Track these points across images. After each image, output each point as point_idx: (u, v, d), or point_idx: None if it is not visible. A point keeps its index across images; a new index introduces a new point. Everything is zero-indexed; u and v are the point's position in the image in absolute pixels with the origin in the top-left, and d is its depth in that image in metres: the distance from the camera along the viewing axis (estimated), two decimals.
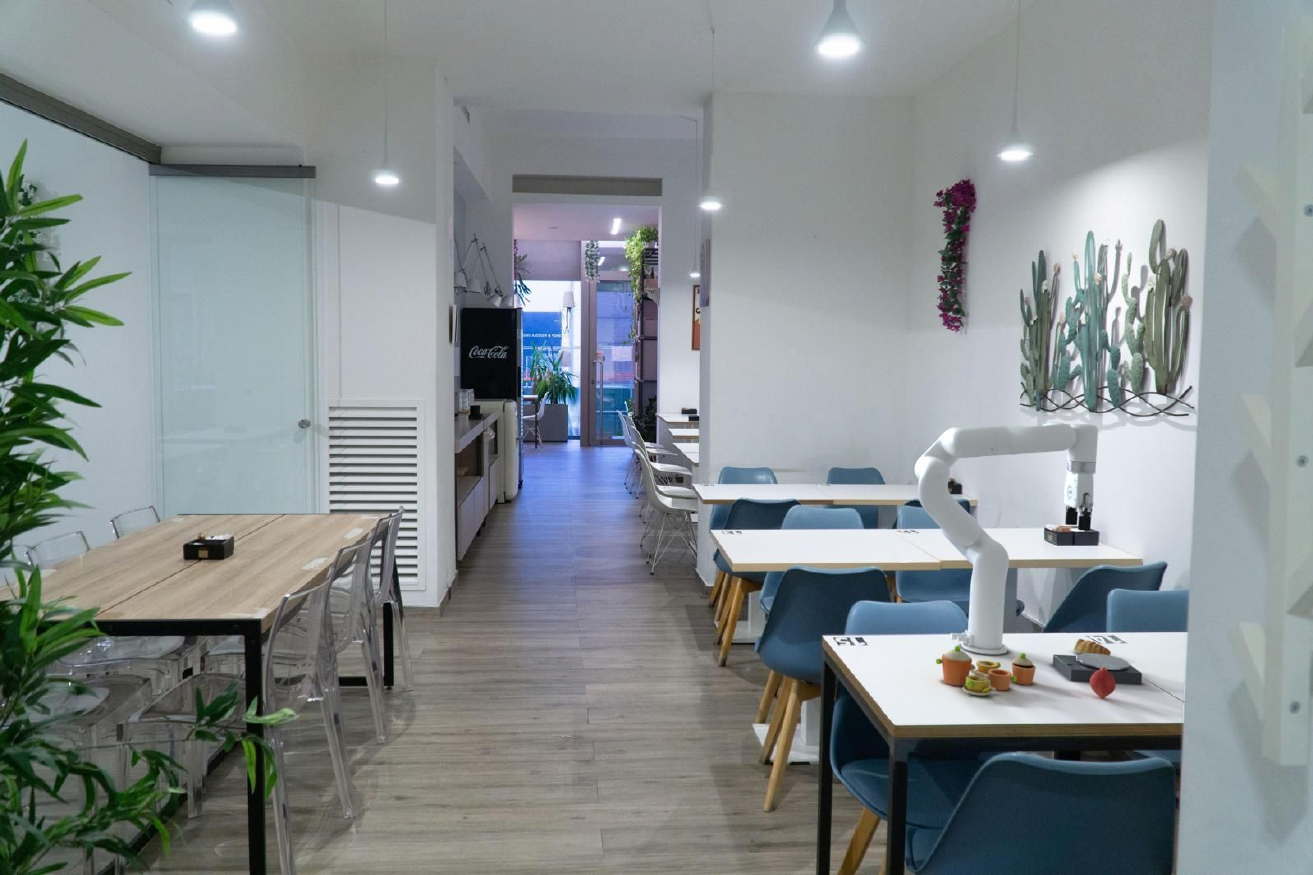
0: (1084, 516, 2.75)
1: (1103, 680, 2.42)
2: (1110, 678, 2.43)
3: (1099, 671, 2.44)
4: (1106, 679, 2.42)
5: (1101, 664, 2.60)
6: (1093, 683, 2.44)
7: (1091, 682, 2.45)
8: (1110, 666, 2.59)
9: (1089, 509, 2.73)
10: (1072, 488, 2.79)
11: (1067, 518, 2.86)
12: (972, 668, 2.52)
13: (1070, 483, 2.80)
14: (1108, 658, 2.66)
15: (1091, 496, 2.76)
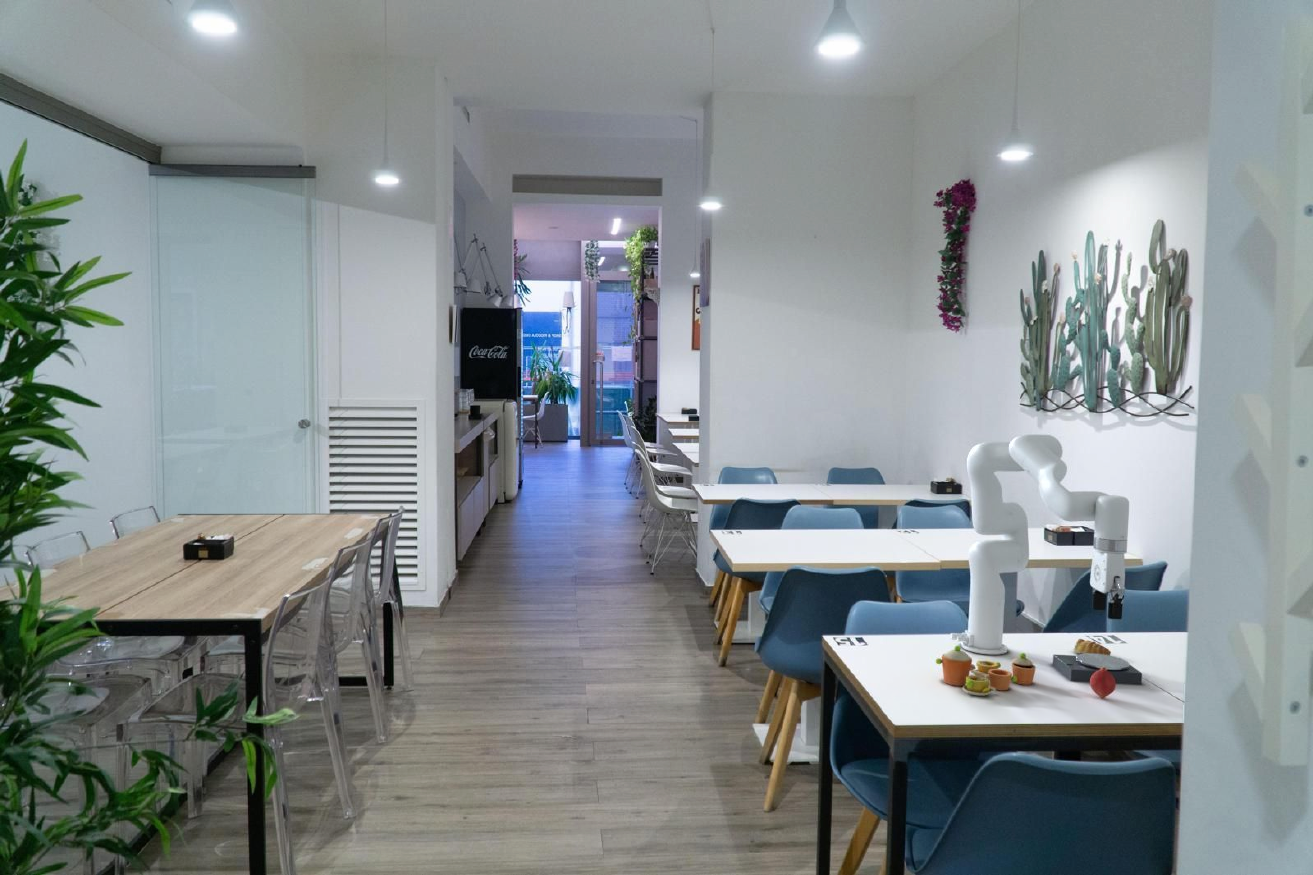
0: (1115, 603, 2.39)
1: (1103, 680, 2.42)
2: (1110, 678, 2.43)
3: (1099, 671, 2.44)
4: (1106, 679, 2.42)
5: (1101, 664, 2.60)
6: (1093, 683, 2.44)
7: (1091, 682, 2.45)
8: (1110, 666, 2.59)
9: (1120, 595, 2.37)
10: (1100, 570, 2.43)
11: (1094, 602, 2.50)
12: (972, 668, 2.52)
13: (1098, 563, 2.44)
14: (1108, 658, 2.66)
15: (1122, 580, 2.40)
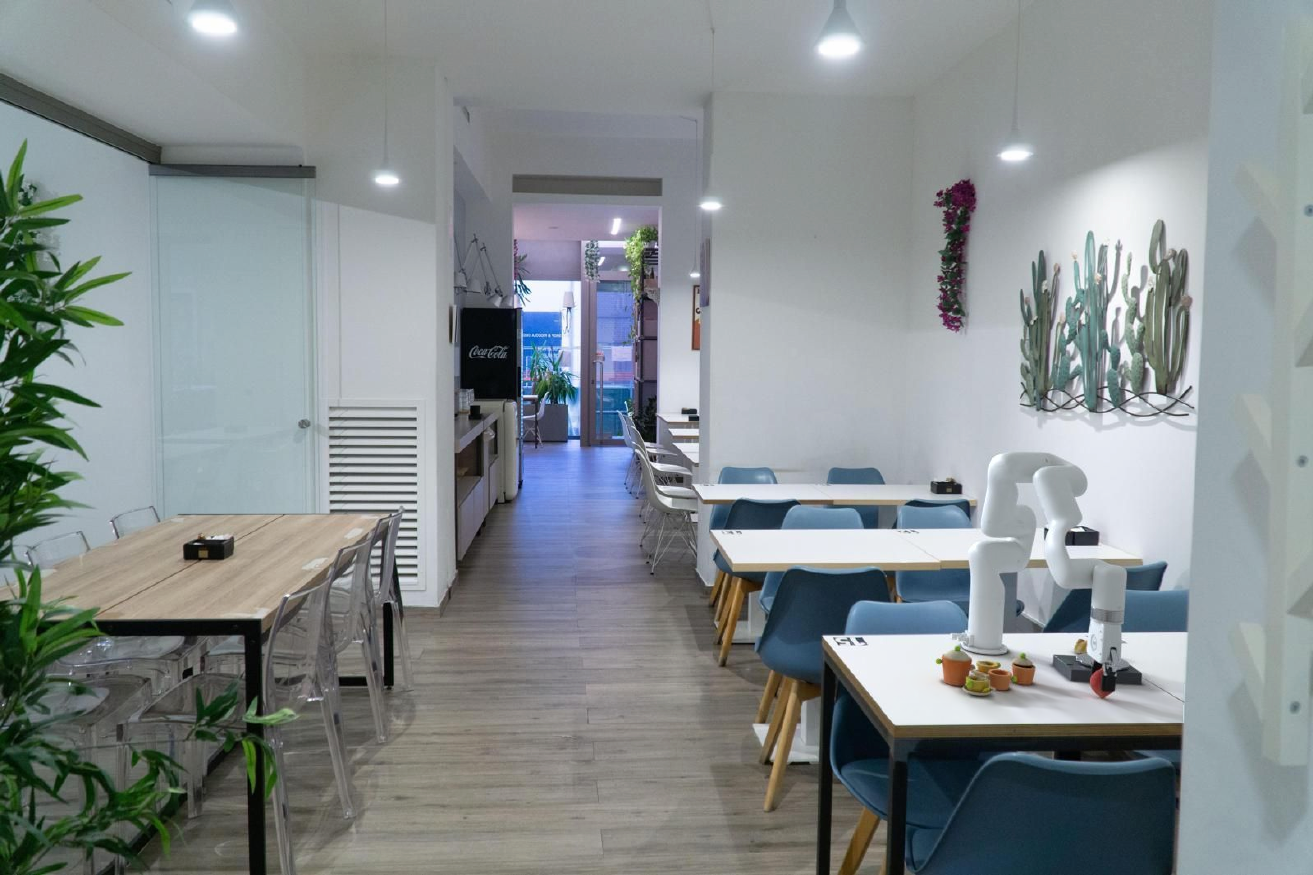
0: (1108, 676, 2.40)
1: None
2: None
3: (1099, 671, 2.44)
4: None
5: None
6: (1093, 683, 2.44)
7: (1091, 682, 2.45)
8: (1110, 666, 2.59)
9: None
10: (1097, 639, 2.42)
11: None
12: (972, 668, 2.52)
13: (1094, 633, 2.44)
14: None
15: (1119, 651, 2.39)
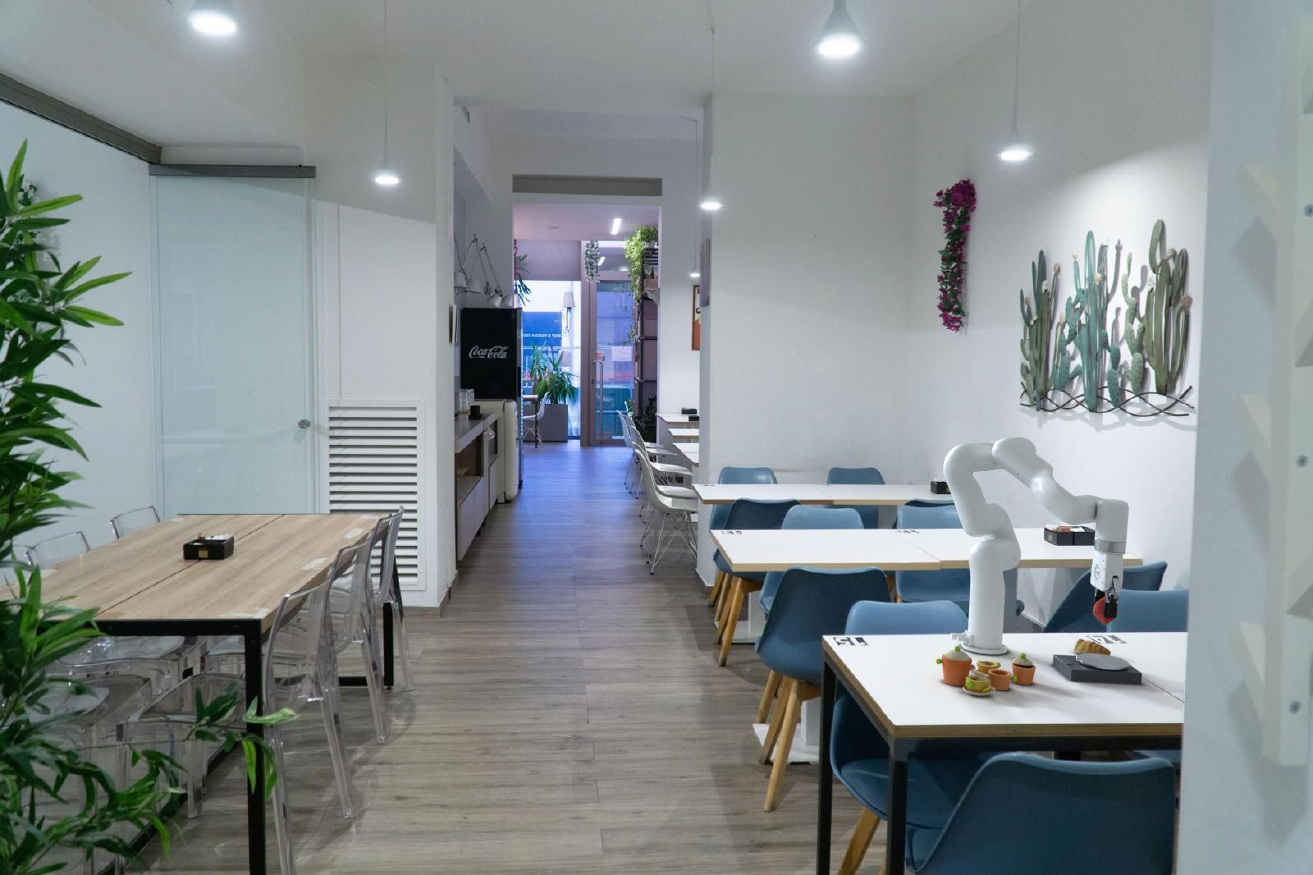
0: (1110, 603, 2.56)
1: None
2: None
3: (1102, 599, 2.60)
4: None
5: (1101, 664, 2.60)
6: (1096, 610, 2.60)
7: (1094, 610, 2.60)
8: (1110, 666, 2.59)
9: (1115, 596, 2.54)
10: (1100, 569, 2.58)
11: None
12: (972, 668, 2.52)
13: (1098, 563, 2.59)
14: (1108, 658, 2.66)
15: (1120, 579, 2.55)
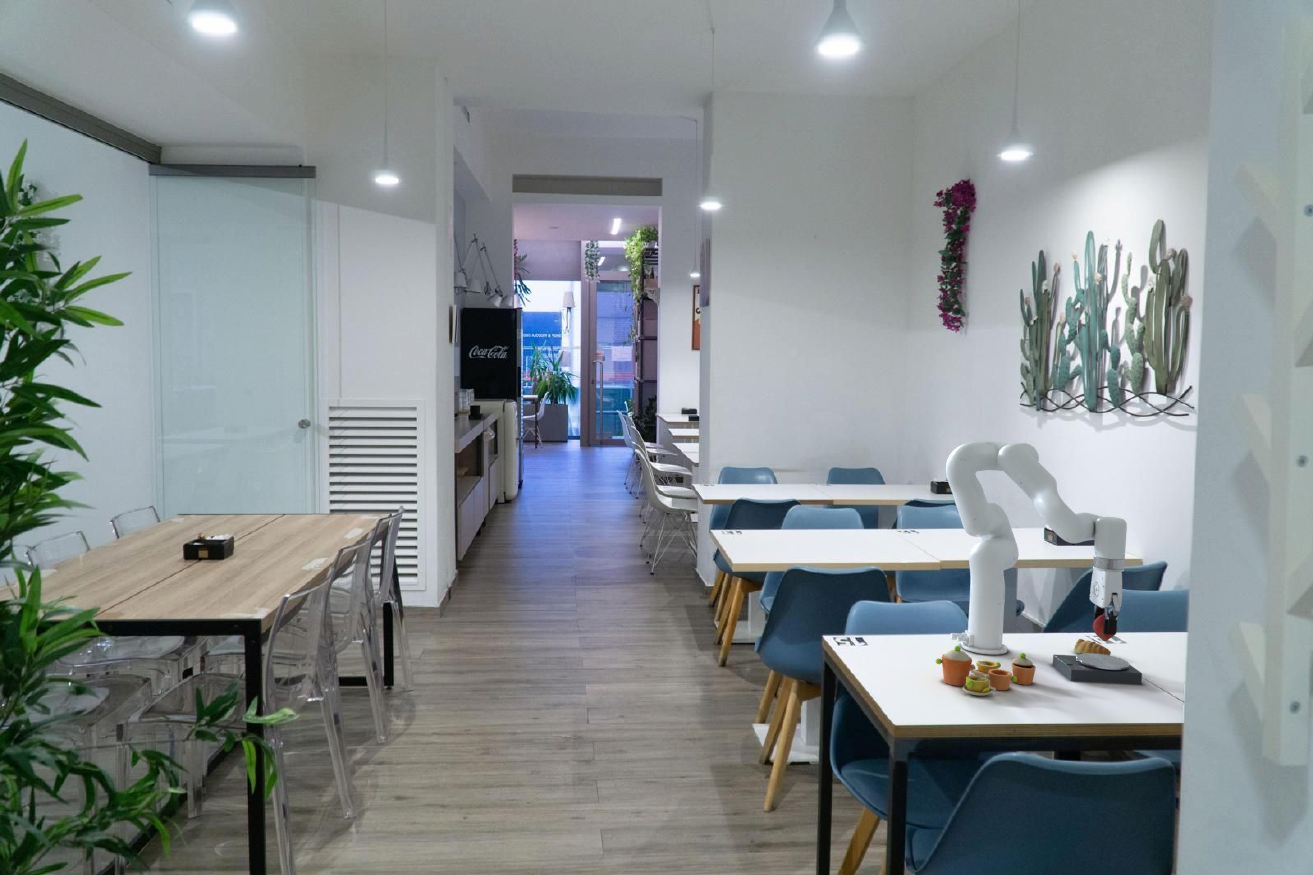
0: (1110, 619, 2.59)
1: None
2: None
3: (1101, 616, 2.63)
4: None
5: (1101, 664, 2.60)
6: (1096, 627, 2.63)
7: (1094, 626, 2.63)
8: (1110, 666, 2.59)
9: (1115, 613, 2.57)
10: (1099, 586, 2.61)
11: None
12: (972, 668, 2.52)
13: (1097, 580, 2.63)
14: (1108, 658, 2.66)
15: (1120, 596, 2.58)
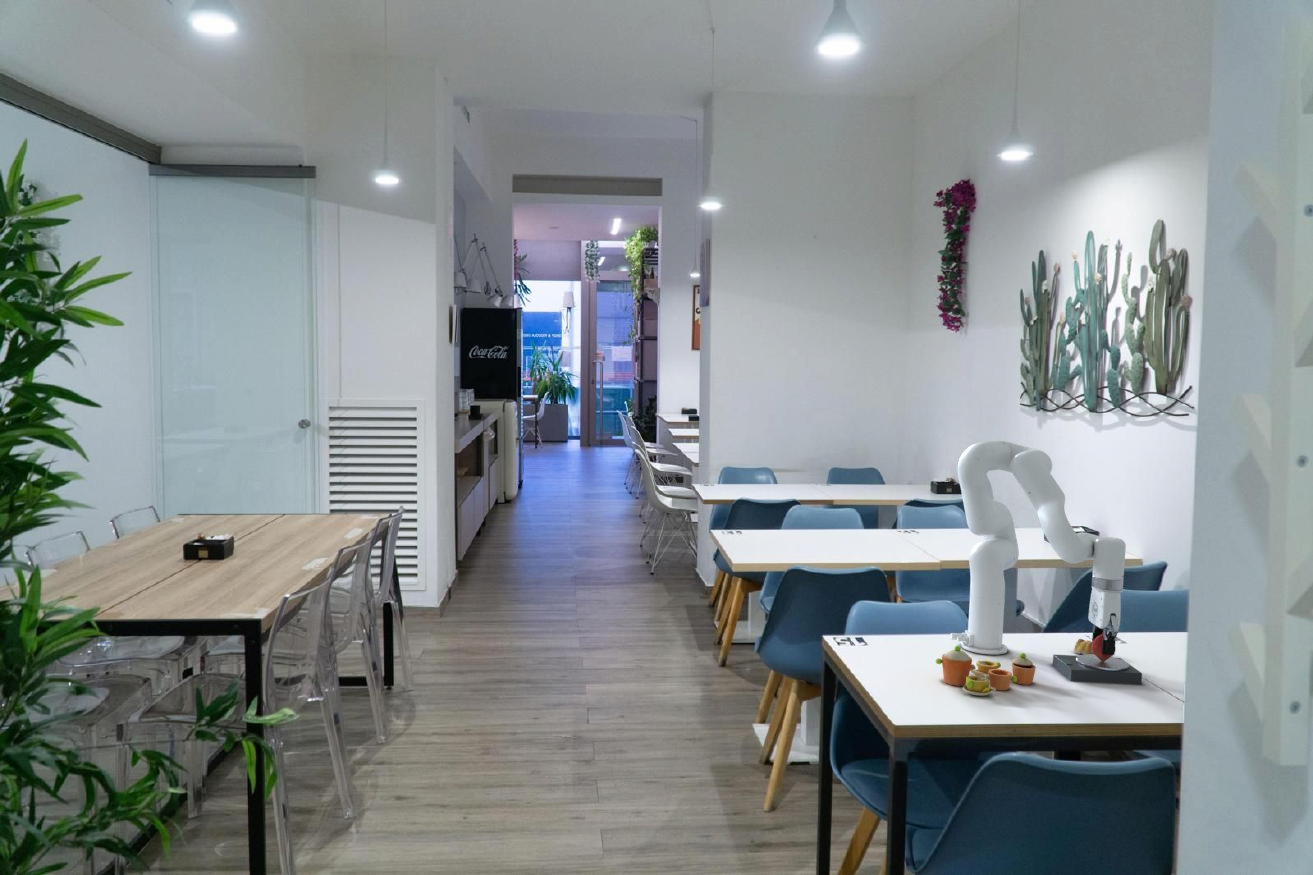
0: (1108, 640, 2.59)
1: None
2: None
3: (1100, 636, 2.64)
4: None
5: (1101, 665, 2.60)
6: (1095, 647, 2.63)
7: (1093, 646, 2.64)
8: (1110, 667, 2.59)
9: None
10: (1098, 606, 2.62)
11: None
12: (972, 668, 2.52)
13: (1095, 600, 2.63)
14: (1108, 659, 2.66)
15: (1118, 617, 2.58)
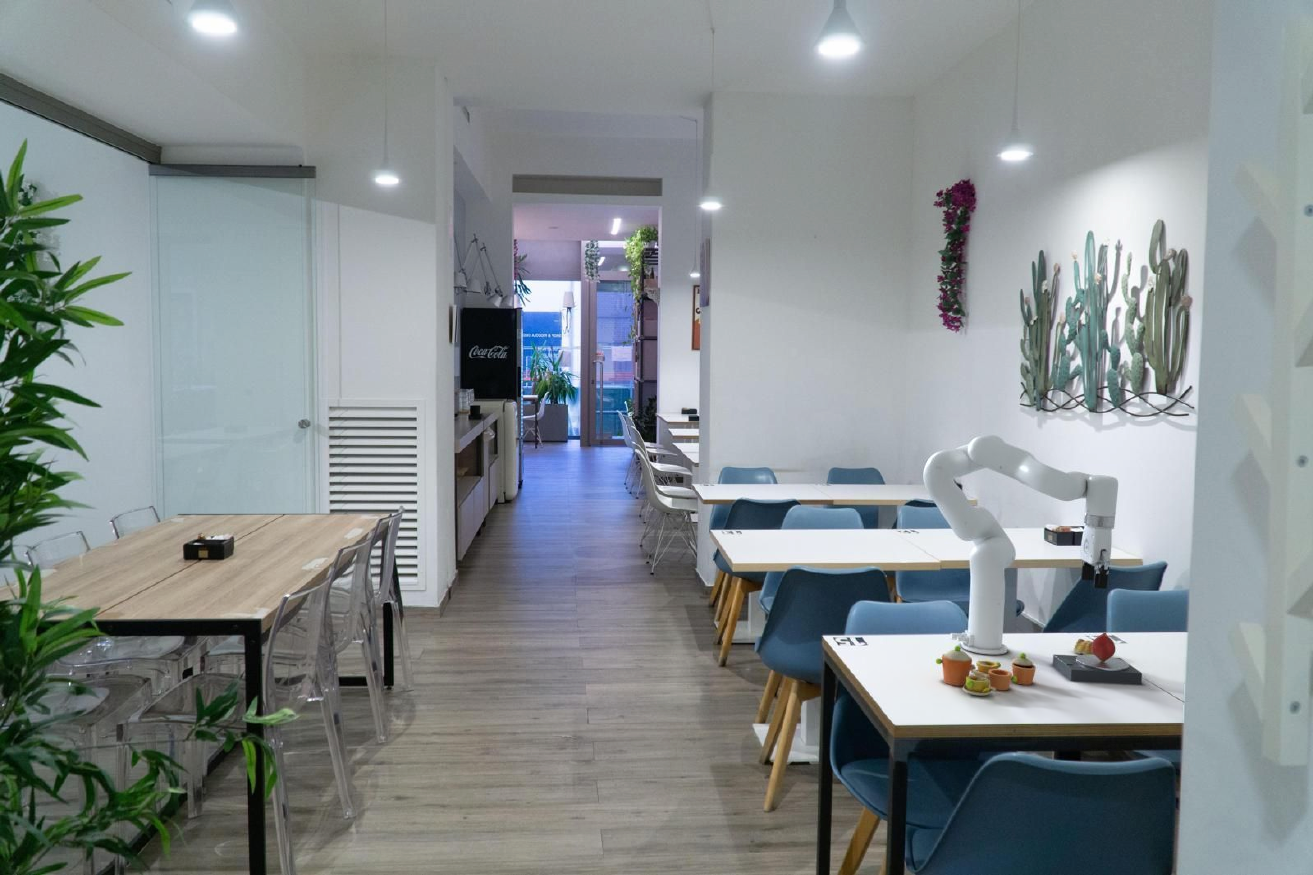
0: (1100, 574, 2.62)
1: (1104, 645, 2.62)
2: (1110, 642, 2.62)
3: (1100, 636, 2.64)
4: (1107, 643, 2.62)
5: (1101, 665, 2.60)
6: (1095, 647, 2.63)
7: (1092, 647, 2.64)
8: (1110, 667, 2.59)
9: (1106, 567, 2.60)
10: (1089, 543, 2.65)
11: (1083, 573, 2.72)
12: (972, 668, 2.52)
13: (1087, 537, 2.67)
14: (1108, 659, 2.66)
15: (1109, 553, 2.62)
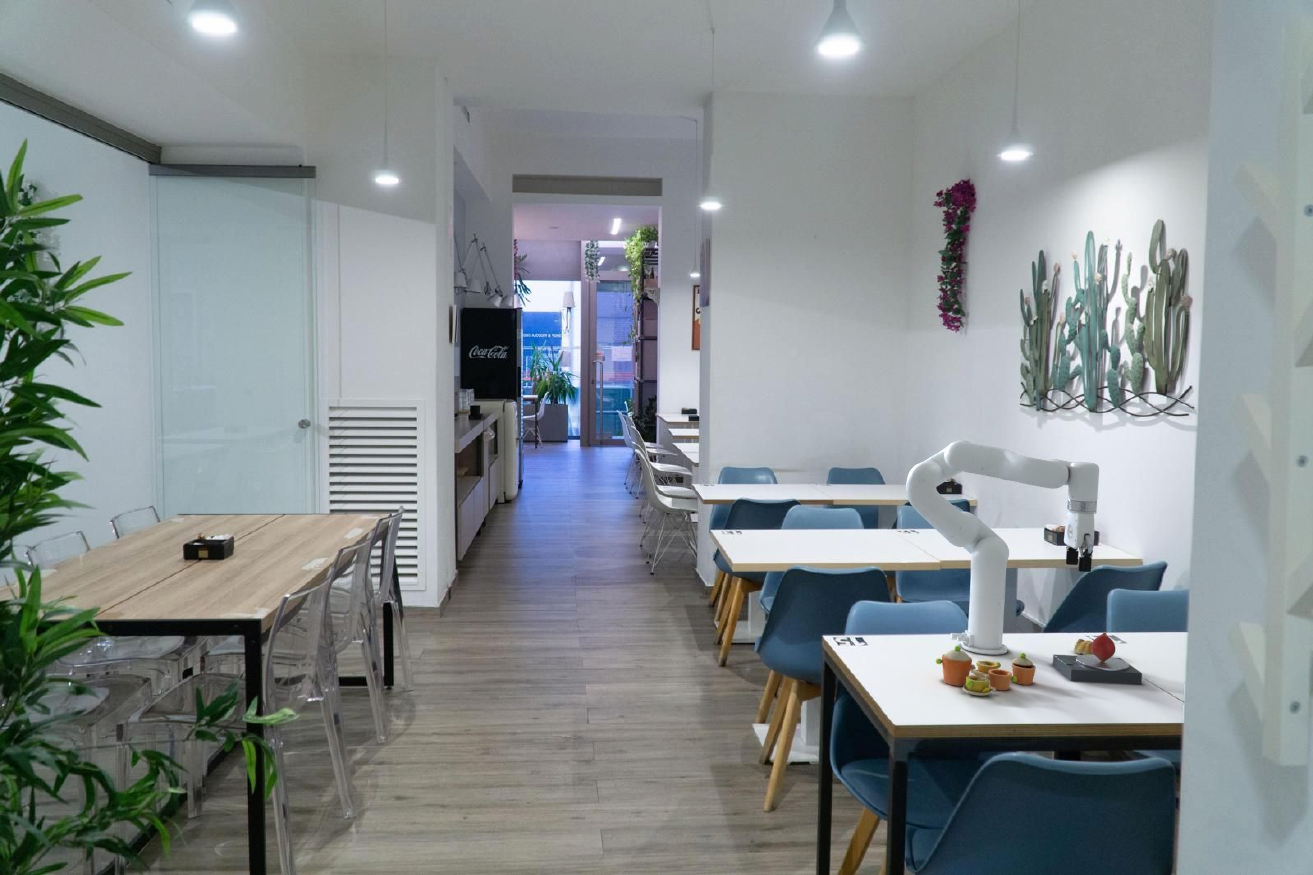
0: (1084, 557, 2.69)
1: (1104, 645, 2.62)
2: (1110, 642, 2.62)
3: (1100, 636, 2.64)
4: (1107, 643, 2.62)
5: (1101, 665, 2.60)
6: (1095, 647, 2.63)
7: (1092, 647, 2.64)
8: (1110, 667, 2.59)
9: (1090, 550, 2.67)
10: (1072, 528, 2.72)
11: (1068, 558, 2.79)
12: (972, 668, 2.52)
13: (1070, 523, 2.74)
14: (1108, 659, 2.66)
15: (1092, 537, 2.69)
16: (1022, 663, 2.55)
